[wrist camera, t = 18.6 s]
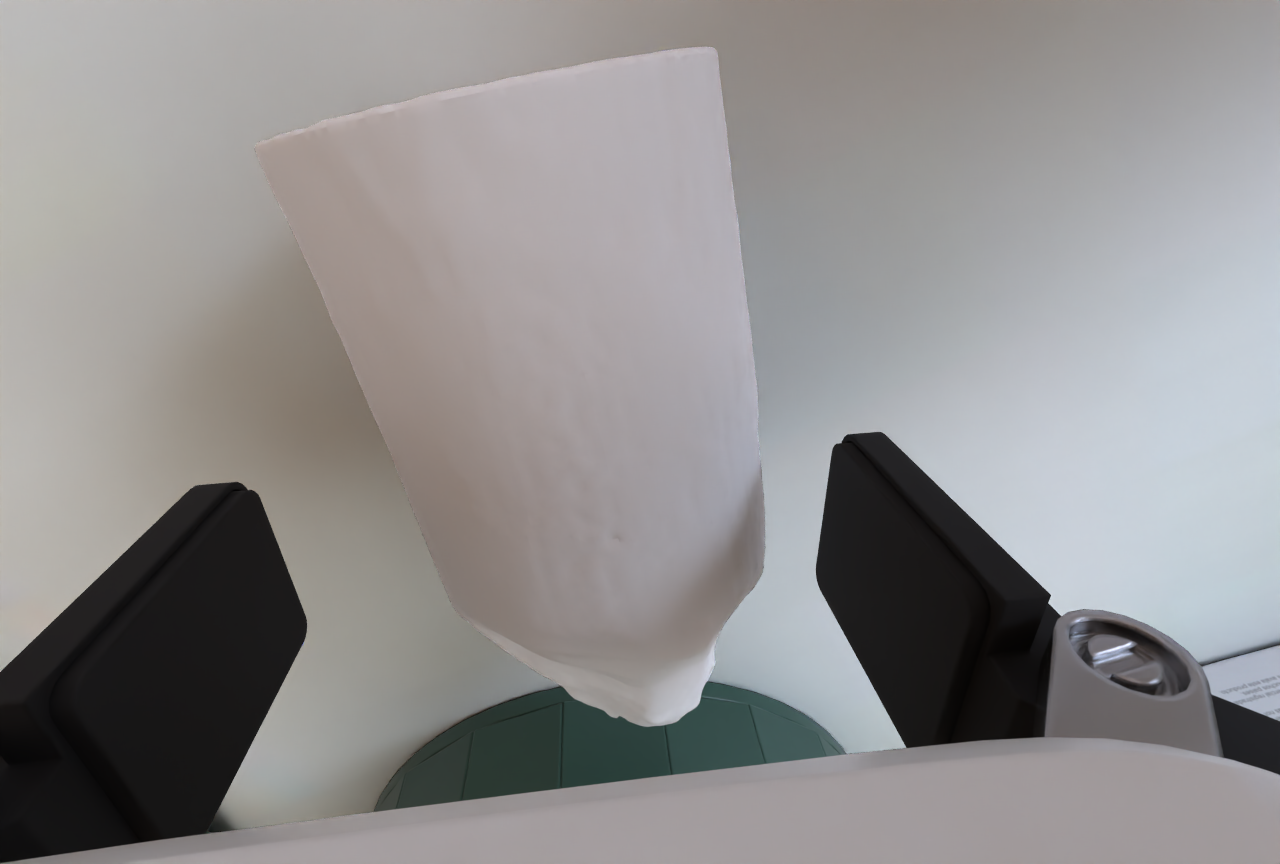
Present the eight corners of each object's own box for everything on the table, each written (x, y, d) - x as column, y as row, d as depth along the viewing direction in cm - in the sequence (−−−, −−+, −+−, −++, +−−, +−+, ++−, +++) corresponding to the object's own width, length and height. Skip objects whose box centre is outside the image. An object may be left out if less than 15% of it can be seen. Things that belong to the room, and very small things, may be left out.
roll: (530, 630, 16) (507, 864, 11) (339, 135, 10) (106, 157, 5) (751, 585, 16) (829, 800, 11) (686, 62, 10) (790, 12, 5)
